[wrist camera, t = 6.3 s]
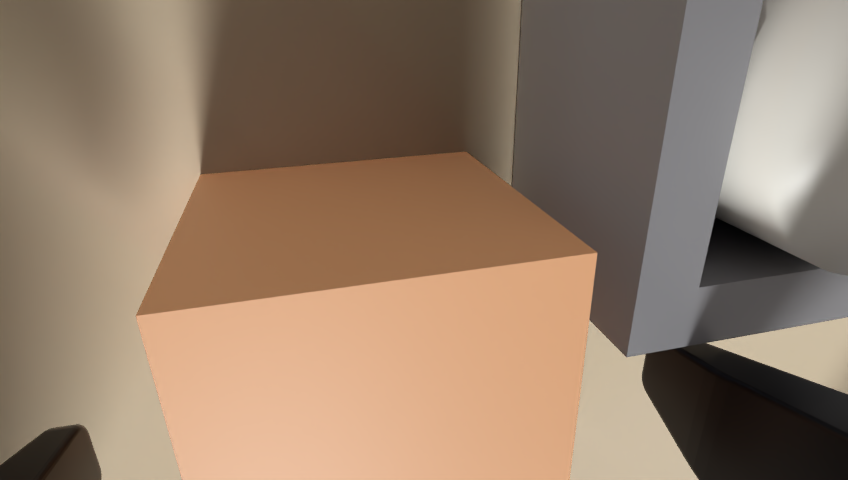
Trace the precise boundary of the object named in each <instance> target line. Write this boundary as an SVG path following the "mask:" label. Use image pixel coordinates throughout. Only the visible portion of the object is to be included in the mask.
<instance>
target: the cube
mask: <svg viewBox="0 0 848 480" xmlns="http://www.w3.org/2000/svg"><path fill="white" fill-rule="evenodd" d="M596 261H597V252H596V251H595V250H593V249H592V248H591V247H590V246H588V245H587V244H586V243H584V242H583V241H582V240H580V239H579V238H578V237H577V236H575V235H574V234H573V233H571V232H570V231H569V230H567V229H566V228H565V227H564V226H562V225H561V224H560V223H558V222H557V221H556V220H554V219H553V218H552V217H551V216H549V215H548V214H547V213H545V212H544V211H543V210H541V209H540V208H539V207H538V206H536V205H535V204H534V203H532V202H531V201H530V200H528V199H527V198H526V197H525V196H523V195H522V194H521V193H519V192H518V191H517V190H515V189H514V188H513V187H512V186H510V185H509V184H508V183H506V182H505V181H504V180H502V179H501V178H500V177H499V176H497V175H496V174H495V173H493V172H492V171H491V170H489V169H488V168H487V167H486V166H484V165H483V164H482V163H480V162H479V161H478V160H476V159H475V158H474V157H473V156H471V155H470V154H469V153H467V152H454V153H442V154H431V155H419V156H408V157H396V158H385V159H373V160H361V161H350V162H338V163H327V164H315V165H303V166H292V167H280V168H269V169H257V170H246V171H234V172H222V173H211V174H201V175H200V177H199V179H198V181H197V183H196V186H195V188H194V190H193V192H192V194H191V197H190V199H189V201H188V203H187V205H186V207H185V210H184V212H183V214H182V216H181V218H180V221H179V223H178V225H177V227H176V229H175V232H174V234H173V236H172V238H171V240H170V242H169V245H168V247H167V249H166V251H165V253H164V256H163V258H162V260H161V262H160V264H159V266H158V269H157V271H156V273H155V275H154V277H153V280H152V282H151V284H150V286H149V288H148V290H147V293H146V295H145V297H144V299H143V301H142V304H141V306H140V308H139V310H138V312H137V314H136V319H137V322H138V326H139V329H140V333H141V336H142V340H143V343H144V347H145V351H146V354H147V358H148V361H149V365H150V368H151V372H152V375H153V379H154V382H155V386H156V389H157V393H158V396H159V400H160V404H161V407H162V411H163V414H164V418H165V421H166V425H167V428H168V432H169V435H170V439H171V442H172V446H173V449H174V453H175V457H176V460H177V464H178V467H179V471H180V474H181V478H182V480H569V479H570V471H571V463H572V455H573V447H574V439H575V431H576V423H577V415H578V406H579V398H580V390H581V382H582V374H583V366H584V358H585V350H586V342H587V334H588V326H589V318H590V310H591V301H592V293H593V285H594V277H595V269H596Z"/></svg>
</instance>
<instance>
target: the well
mask: <svg viewBox="0 0 848 480" xmlns="http://www.w3.org/2000/svg"><path fill="white" fill-rule="evenodd" d="M762 4H763V0H522V16H521V35H520V53H519V71H518V90H517V108H516V126H515V145H514V163H513V181H512V187H513V188H514V189H515V190H517V191H518V192H519V193H521V194H522V195H523V196H525V197H526V198H527V199H528V200H530V201H531V202H532V203H534V204H535V205H536V206H538V207H539V208H540V209H541V210H543V211H544V212H545V213H547V214H548V215H549V216H551V217H552V218H553V219H554V220H556V221H557V222H558V223H560V224H561V225H562V226H564V227H565V228H566V229H567V230H569V231H570V232H571V233H573V234H574V235H575V236H577V237H578V238H579V239H580V240H582V241H583V242H584V243H586V244H587V245H588V246H590V247H591V248H592V249H593V250H595V251H596V252H597V261H596V269H595V277H594V285H593V293H592V301H591V310H590V318H589V320H590V321H591V322H592V323H593V324H594V325H595V326H596V327H597V328H598V329H599V330H600V331H601V332H602V333H603V334H604V335H605V336H606V337H607V338H608V339H609V340H610V341H611V342H612V343H613V344H614V345H615V346H616V347H617V348H618V349H619V350H620V351H621V352H622V353H623V354H624V355H625V356H626V357H631V356H636V355H642V354H647V353H653V352H658V351H664V350H669V349H675V348H680V347H686V346H691V345H697V344H702V343H708V342H713V341H719V340H724V339H730V338H735V337H741V336H746V335H752V334H757V333H763V332H769V331H774V330H780V329H785V328H791V327H796V326H802V325H807V324H813V323H818V322H824V321H829V320H835V319H840V318H846V317H848V275H841V274H837V273H833V272H829V271H826V270H823V269H821V268H819V267H817V266H815V265H813V264H811V263H809V262H807V261H805V260H803V259H800V258H798V257H796V256H794V255H792V254H790V253H788V252H786V251H784V250H782V249H780V248H778V247H776V246H774V245H772V244H770V243H767V242H765V241H763V240H761V239H759V238H757V237H755V236H753V235H751V234H749V233H747V232H745V231H743V230H741V229H739V228H737V227H734V226H732V225H730V224H728V223H726V222H724V221H722V220H720V219H718V218H716V217H715V215H716V210H717V206H718V201H719V197H720V192H721V188H722V183H723V179H724V174H725V170H726V165H727V161H728V156H729V152H730V147H731V143H732V138H733V134H734V129H735V125H736V120H737V116H738V111H739V107H740V103H741V98H742V94H743V89H744V85H745V80H746V76H747V71H748V67H749V62H750V58H751V53H752V49H753V44H754V40H755V35H756V31H757V26H758V22H759V17H760V13H761V8H762Z"/></svg>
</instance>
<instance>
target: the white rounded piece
mask: <svg viewBox="0 0 848 480" xmlns="http://www.w3.org/2000/svg"><path fill="white" fill-rule="evenodd" d="M715 217H716V218H718V219H720V220H722V221H724V222H726V223H728V224H730V225H732V226H734V227H737V228H739V229H741V230H743V231H745V232H747V233H749V234H751V235H753V236H755V237H757V238H759V239H761V240H763V241H765V242H767V243H770V244H772V245H774V246H776V247H778V248H780V249H782V250H784V251H786V252H788V253H790V254H792V255H794V256H796V257H798V258H800V259H803V260H805V261H807V262H809V263H811V264H813V265H815V266H817V267H819V268H821V269H823V270H826V271H829V272H833V273H837V274H841V275H848V0H763V4H762V8H761V13H760V17H759V22H758V26H757V31H756V35H755V40H754V44H753V49H752V53H751V58H750V62H749V67H748V71H747V76H746V80H745V85H744V89H743V94H742V98H741V103H740V107H739V111H738V116H737V120H736V125H735V129H734V134H733V138H732V143H731V147H730V152H729V156H728V161H727V165H726V170H725V174H724V179H723V183H722V188H721V192H720V197H719V201H718V206H717V210H716V215H715Z"/></svg>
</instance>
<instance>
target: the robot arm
mask: <svg viewBox="0 0 848 480" xmlns="http://www.w3.org/2000/svg"><path fill="white" fill-rule="evenodd" d="M642 382H643V386H644V389H645V391H646V393H647V394H648V396H649V398H650V399H651V401H652V403H653V405H654V406H655V408H656V410H657V411H658V413H659V415H660V417H661V418H662V420H663V422H664V423H665V425H666V427H667V429H668V430H669V432H670V434H671V435H672V437H673V439H674V440H675V442H676V444H677V446H678V447H679V449H680V451H681V452H682V454H683V456H684V457H685V459H686V461H687V462H688V464H689V466H690V467H691V469H692V470H693V472H694V473H695V475H696V476H697V478H698V479H699V480H848V394H845V393H842V392H839V391H837V390H834V389H831V388H828V387H826V386H823V385H820V384H817V383H815V382H812V381H809V380H806V379H804V378H801V377H798V376H795V375H792V374H790V373H787V372H784V371H781V370H779V369H776V368H773V367H770V366H768V365H765V364H762V363H759V362H757V361H754V360H751V359H748V358H746V357H743V356H740V355H737V354H734V353H732V352H729V351H726V350H723V349H721V348H718V347H715V346H712V345H710V344H707V343H702V344H697V345H691V346H686V347H680V348H675V349H669V350H664V351H658V352H653V353H647V354H646V356H645V361H644V367H643V372H642ZM0 480H101V469H100V466H99V463H98V460H97V457H96V454H95V451H94V448H93V445H92V442H91V439H90V436H89V433H88V431H87V429H86V428H85V427H84V426H82V425H80V424H76V425H69V426H63V427H56V428H51V429H48V430H46V431H45V432H43V433H42V434H40V435H39V436H38V437H37V438H35V439H34V440H33V441H31V442H30V443H29V444H27V445H26V446H25V447H24V448H22V449H21V450H20V451H18V452H17V453H16V454H14V455H13V456H12V457H11V458H9V459H8V460H7V461H5V462H4V463H3V464H1V465H0Z"/></svg>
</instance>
